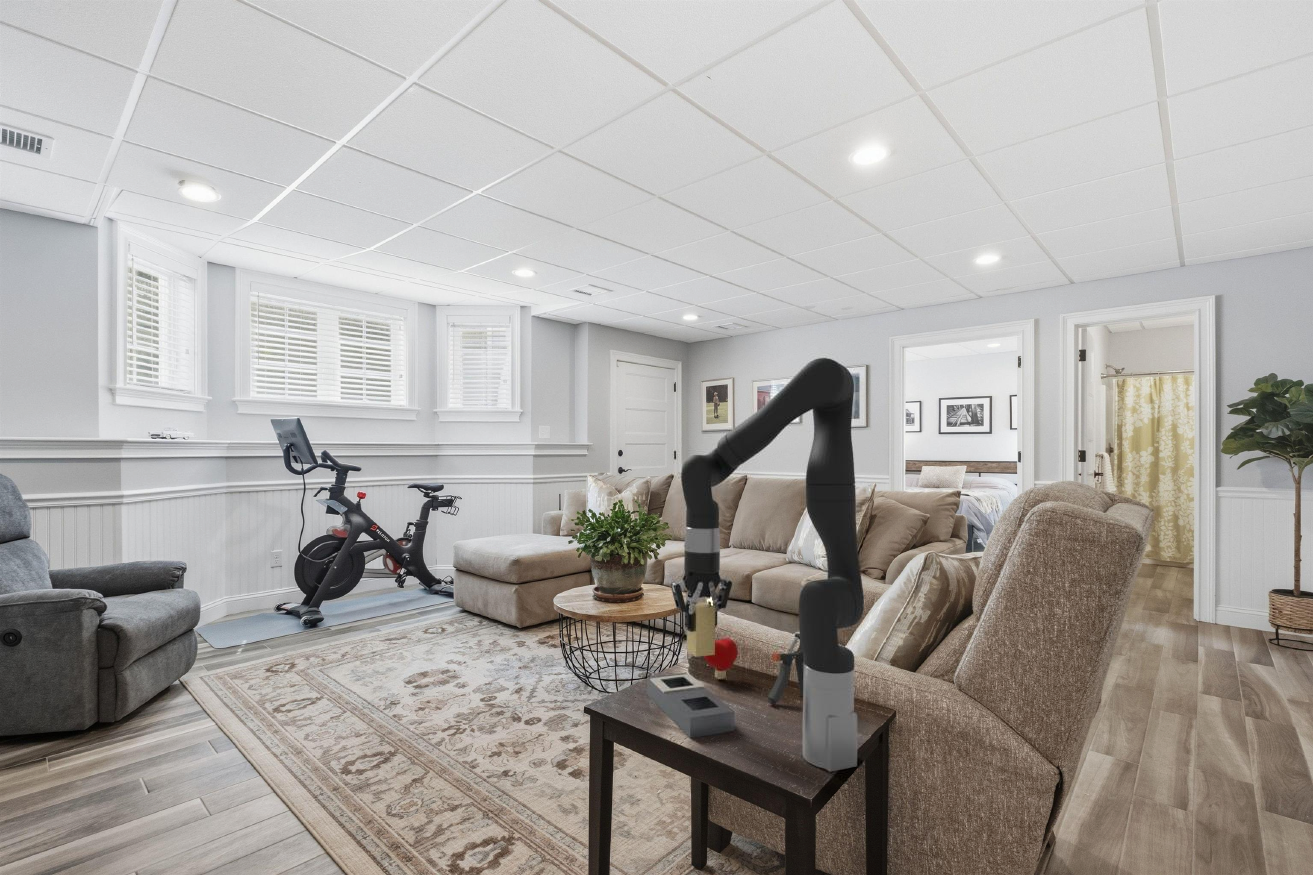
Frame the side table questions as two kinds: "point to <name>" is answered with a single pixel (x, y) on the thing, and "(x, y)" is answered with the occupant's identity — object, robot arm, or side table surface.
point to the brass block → (702, 631)
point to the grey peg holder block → (690, 705)
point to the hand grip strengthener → (787, 671)
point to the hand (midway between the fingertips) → (701, 629)
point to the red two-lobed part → (722, 657)
